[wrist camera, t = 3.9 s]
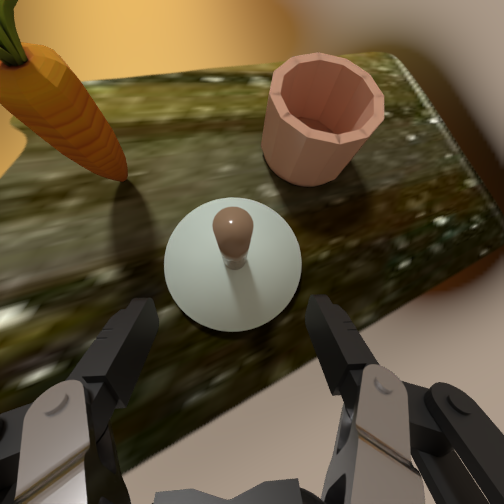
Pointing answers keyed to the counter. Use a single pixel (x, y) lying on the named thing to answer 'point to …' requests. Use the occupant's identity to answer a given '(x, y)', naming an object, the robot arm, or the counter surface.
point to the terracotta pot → (318, 117)
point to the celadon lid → (232, 264)
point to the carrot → (55, 102)
